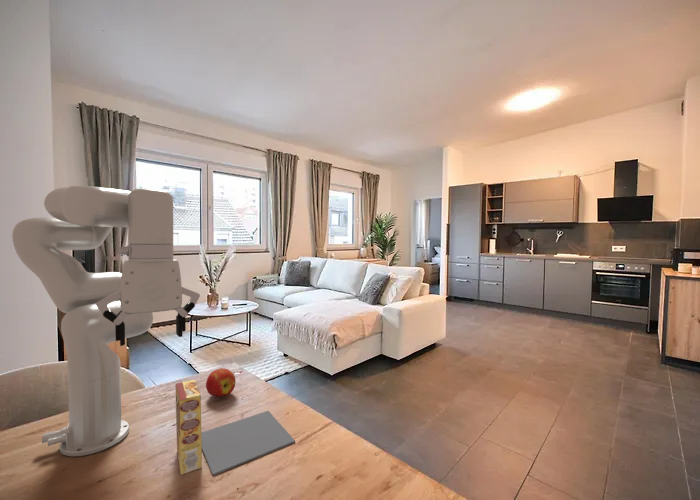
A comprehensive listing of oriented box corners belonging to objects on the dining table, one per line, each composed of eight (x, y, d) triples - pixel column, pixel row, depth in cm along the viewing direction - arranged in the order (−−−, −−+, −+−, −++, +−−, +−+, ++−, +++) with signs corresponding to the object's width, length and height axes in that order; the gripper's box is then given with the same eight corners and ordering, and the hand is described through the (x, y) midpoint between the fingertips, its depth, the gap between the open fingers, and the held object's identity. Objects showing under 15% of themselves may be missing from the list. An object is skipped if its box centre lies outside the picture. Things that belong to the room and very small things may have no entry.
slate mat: (212, 475, 63) (212, 473, 63) (196, 435, 76) (196, 434, 76) (295, 442, 74) (295, 440, 74) (268, 412, 87) (268, 410, 87)
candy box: (202, 468, 66) (202, 394, 65) (179, 476, 63) (178, 400, 63) (196, 445, 73) (195, 378, 72) (175, 451, 71) (174, 383, 70)
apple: (213, 405, 90) (213, 377, 90) (201, 395, 96) (201, 369, 96) (239, 395, 96) (239, 369, 96) (227, 386, 102) (226, 362, 101)
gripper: (94, 255, 55) (95, 353, 55) (203, 253, 65) (203, 336, 66) (96, 253, 61) (97, 342, 61) (195, 251, 71) (195, 328, 72)
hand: (152, 339), depth 63 cm, fingers open, 9 cm apart
